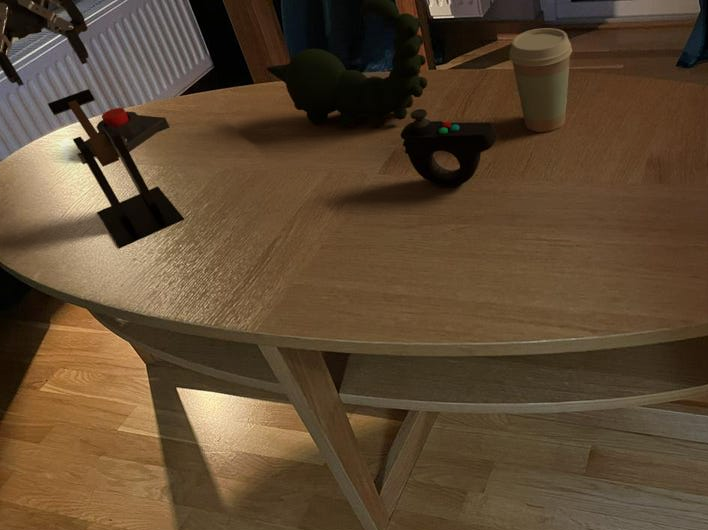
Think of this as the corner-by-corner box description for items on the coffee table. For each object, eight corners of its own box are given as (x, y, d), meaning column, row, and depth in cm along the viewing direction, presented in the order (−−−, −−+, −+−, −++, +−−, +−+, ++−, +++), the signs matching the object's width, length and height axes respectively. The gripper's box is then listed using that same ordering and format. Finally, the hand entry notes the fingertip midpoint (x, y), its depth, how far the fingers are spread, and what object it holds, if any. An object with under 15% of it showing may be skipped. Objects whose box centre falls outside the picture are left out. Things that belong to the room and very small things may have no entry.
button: (118, 129, 112) (112, 119, 111) (102, 127, 114) (96, 117, 112) (134, 118, 114) (128, 108, 113) (118, 117, 116) (113, 107, 115)
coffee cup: (586, 123, 101) (584, 37, 92) (535, 143, 99) (528, 57, 90) (554, 103, 107) (549, 21, 98) (505, 121, 104) (496, 39, 96)
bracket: (100, 219, 100) (50, 135, 91) (161, 193, 103) (118, 110, 94) (123, 254, 92) (70, 167, 83) (187, 225, 95) (143, 138, 86)
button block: (124, 163, 111) (112, 139, 109) (85, 157, 115) (72, 135, 112) (171, 129, 118) (160, 107, 115) (132, 125, 122) (121, 103, 119)
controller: (418, 174, 97) (403, 104, 90) (504, 175, 94) (496, 103, 87) (408, 191, 94) (392, 120, 87) (497, 192, 91) (488, 119, 84)
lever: (53, 113, 94) (44, 98, 92) (93, 98, 96) (85, 83, 94) (90, 172, 89) (81, 157, 87) (132, 155, 91) (125, 140, 89)
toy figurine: (436, 113, 113) (291, 106, 117) (424, -13, 100) (261, -17, 104) (421, 142, 107) (268, 133, 111) (407, 11, 93) (233, 6, 97)
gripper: (-82, -39, 88) (-12, 75, 89) (34, -70, 93) (99, 38, 94) (-58, -2, 95) (6, 103, 96) (49, -33, 100) (109, 67, 101)
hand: (52, 71), depth 95 cm, fingers open, 8 cm apart
